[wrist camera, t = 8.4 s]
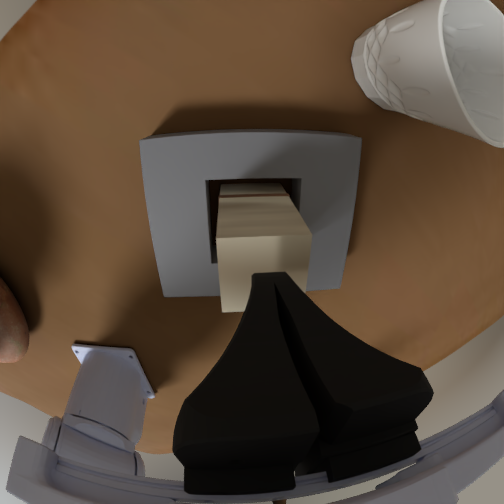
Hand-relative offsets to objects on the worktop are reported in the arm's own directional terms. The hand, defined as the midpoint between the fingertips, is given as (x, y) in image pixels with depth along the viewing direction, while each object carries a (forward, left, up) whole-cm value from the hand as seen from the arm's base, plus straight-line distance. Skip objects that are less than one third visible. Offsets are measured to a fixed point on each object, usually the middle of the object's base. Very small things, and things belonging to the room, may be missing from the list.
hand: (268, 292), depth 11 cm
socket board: (0, 0, -9) cm, 9 cm away
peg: (0, 0, -9) cm, 9 cm away
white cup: (+11, -10, -10) cm, 18 cm away
